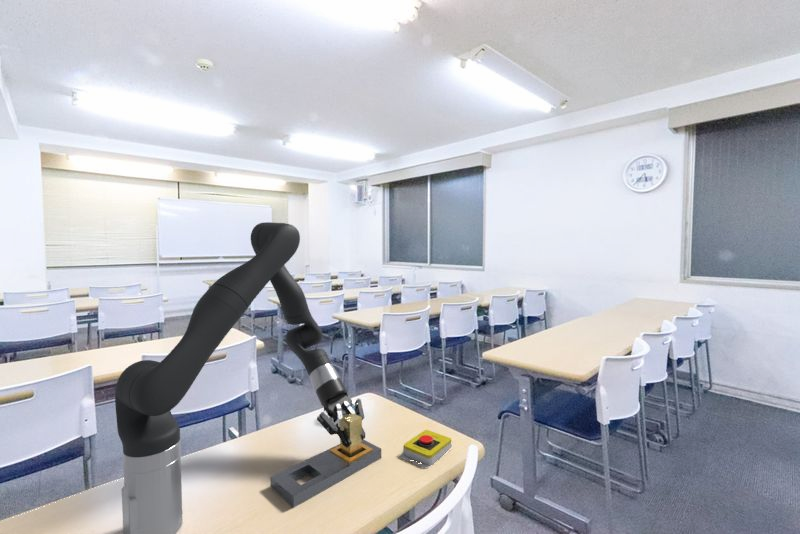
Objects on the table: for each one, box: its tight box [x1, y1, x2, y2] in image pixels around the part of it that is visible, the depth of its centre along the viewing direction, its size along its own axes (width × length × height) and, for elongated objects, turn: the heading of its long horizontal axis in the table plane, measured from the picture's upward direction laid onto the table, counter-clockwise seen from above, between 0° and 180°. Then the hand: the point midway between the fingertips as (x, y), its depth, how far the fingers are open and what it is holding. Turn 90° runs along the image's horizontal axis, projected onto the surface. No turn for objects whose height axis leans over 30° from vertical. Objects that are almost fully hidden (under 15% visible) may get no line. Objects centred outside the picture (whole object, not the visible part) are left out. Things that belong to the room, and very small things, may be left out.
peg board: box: [270, 438, 382, 508], centre depth 92 cm, size 26×10×3 cm, turn 137°
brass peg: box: [339, 413, 363, 458], centre depth 97 cm, size 4×4×10 cm
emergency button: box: [399, 429, 452, 469], centre depth 101 cm, size 9×4×15 cm
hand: (356, 442), depth 96 cm, fingers closed on brass peg, 4 cm apart
